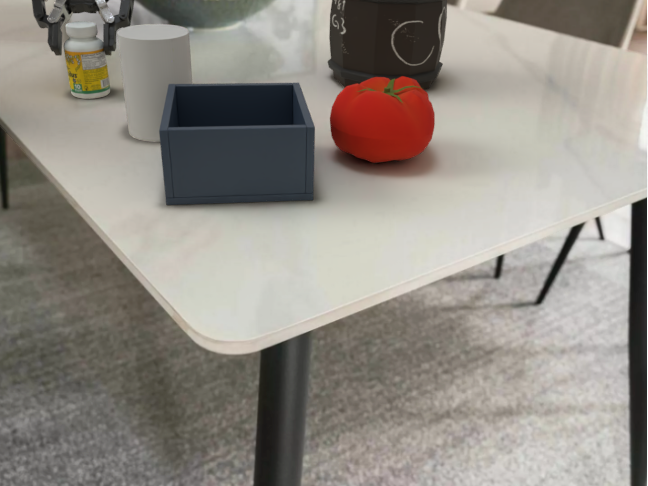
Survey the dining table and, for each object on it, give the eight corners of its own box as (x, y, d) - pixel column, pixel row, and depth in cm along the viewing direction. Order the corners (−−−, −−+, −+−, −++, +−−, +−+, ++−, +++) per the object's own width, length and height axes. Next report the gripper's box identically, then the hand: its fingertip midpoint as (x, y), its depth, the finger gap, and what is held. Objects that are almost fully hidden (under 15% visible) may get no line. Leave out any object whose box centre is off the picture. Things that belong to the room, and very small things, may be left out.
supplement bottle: (115, 96, 96) (106, 26, 91) (76, 101, 93) (65, 30, 88) (104, 86, 99) (95, 18, 95) (67, 91, 97) (55, 21, 92)
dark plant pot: (461, 76, 109) (475, -28, 102) (409, 104, 96) (420, -13, 89) (366, 57, 118) (372, -40, 110) (306, 80, 105) (308, -28, 97)
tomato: (376, 186, 72) (381, 108, 68) (308, 148, 81) (310, 77, 76) (460, 161, 79) (470, 89, 74) (389, 129, 87) (394, 62, 83)
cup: (207, 124, 87) (201, 28, 81) (174, 146, 80) (165, 43, 74) (151, 115, 89) (142, 21, 83) (115, 135, 82) (102, 35, 77)
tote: (166, 205, 67) (158, 130, 63) (174, 149, 79) (168, 83, 75) (313, 200, 69) (315, 127, 65) (298, 146, 81) (299, 82, 77)
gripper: (22, -74, 91) (17, 37, 87) (132, -72, 93) (132, 37, 89) (38, -37, 99) (34, 67, 94) (140, -36, 100) (141, 66, 96)
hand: (82, 52), depth 92 cm, fingers open, 6 cm apart
